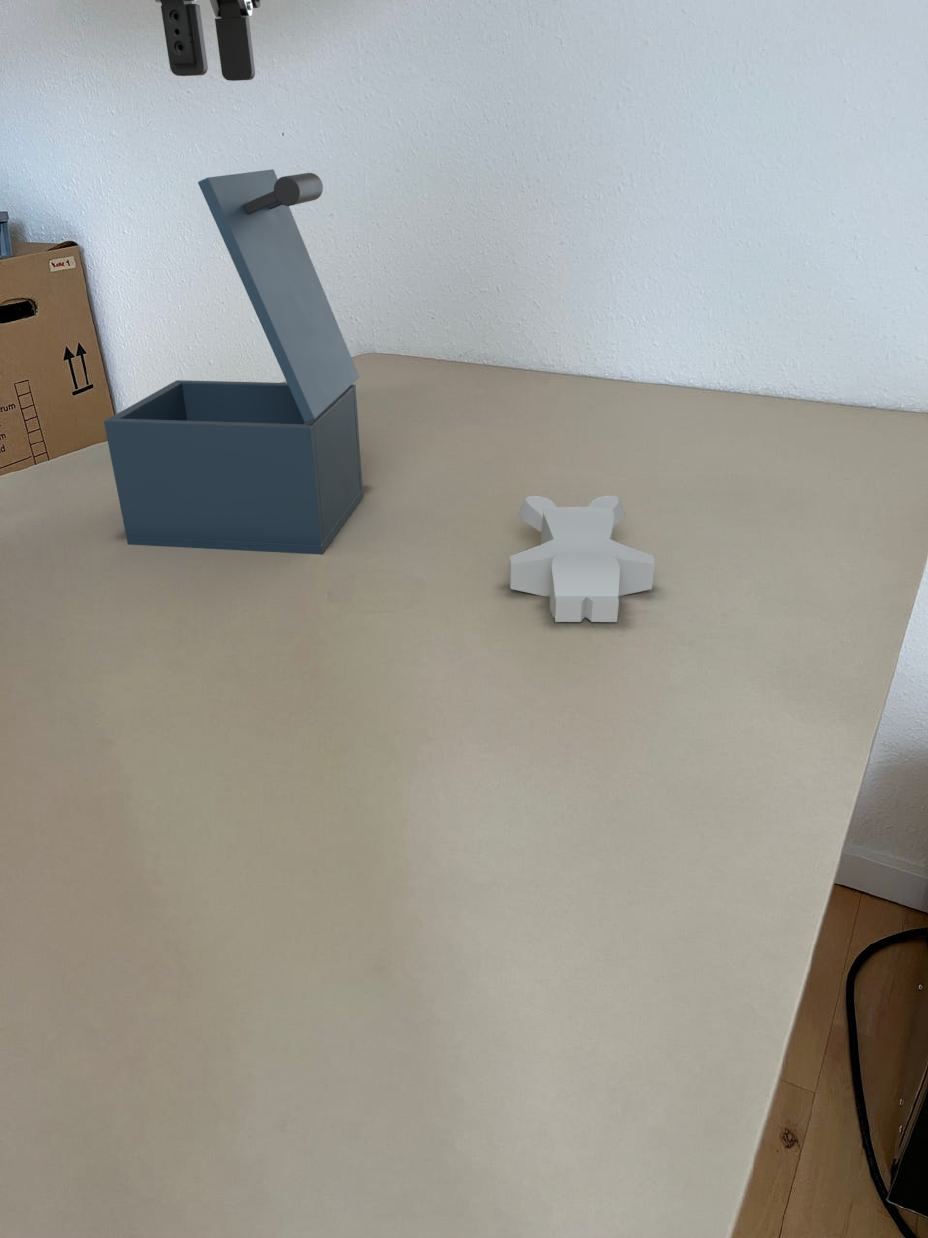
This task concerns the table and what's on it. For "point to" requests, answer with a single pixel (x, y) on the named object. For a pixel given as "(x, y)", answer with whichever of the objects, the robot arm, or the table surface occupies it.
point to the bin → (235, 468)
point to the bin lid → (283, 280)
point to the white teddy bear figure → (579, 560)
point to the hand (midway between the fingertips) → (216, 77)
